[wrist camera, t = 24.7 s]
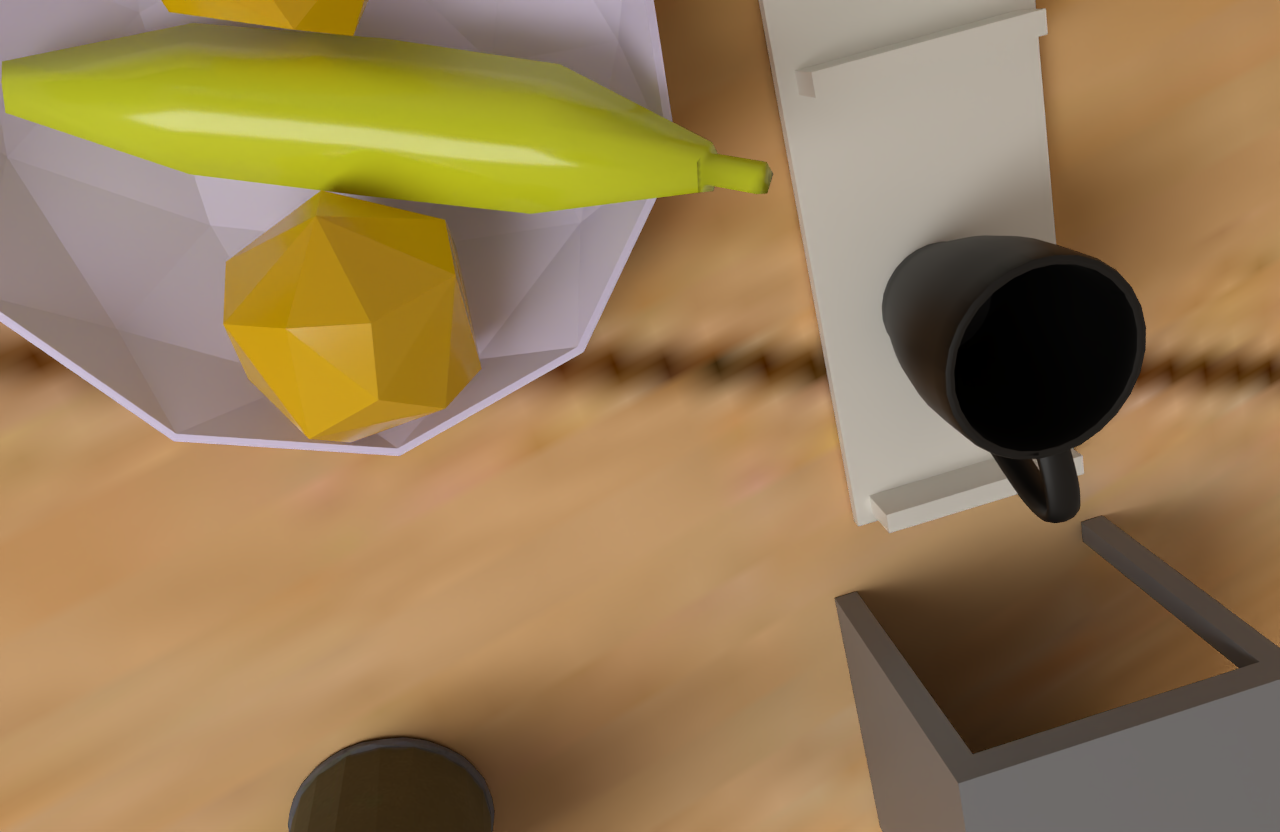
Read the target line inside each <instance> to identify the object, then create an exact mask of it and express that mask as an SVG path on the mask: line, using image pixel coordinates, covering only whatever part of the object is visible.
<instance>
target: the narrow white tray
mask: <svg viewBox="0 0 1280 832" xmlns="http://www.w3.org/2000/svg"><path fill="white" fill-rule="evenodd" d="M759 6H760V11H761V16H762V22H763V27H764V33H765V38H766V44H767V49H768V55H769V60H770V65H771V71H772V76H773V82H774V87H775V93H776V98H777V104H778V109H779V114H780V120H781V125H782V131H783V136H784V142H785V147H786V153H787V158H788V163H789V169H790V174H791V180H792V185H793V191H794V196H795V202H796V207H797V212H798V218H799V223H800V229H801V234H802V240H803V245H804V251H805V256H806V262H807V267H808V272H809V278H810V283H811V289H812V294H813V300H814V305H815V311H816V316H817V321H818V327H819V332H820V338H821V343H822V349H823V354H824V360H825V365H826V370H827V376H828V381H829V387H830V392H831V398H832V403H833V409H834V414H835V419H836V425H837V430H838V436H839V441H840V447H841V452H842V458H843V463H844V468H845V474H846V479H847V485H848V490H849V496H850V501H851V507H852V512H853V517H854V522H855V523H856V524H857V525H858V526H862V525H865V524H868V523H871V522H875V521H879V522H880V523H881V524H882V525H883V526H884V528H885V529H886V530H887V531H888V532H889V533H892V532H895V531H898V530H902V529H905V528H908V527H911V526H915V525H918V524H921V523H924V522H928V521H931V520H934V519H938V518H941V517H944V516H947V515H951V514H954V513H957V512H960V511H964V510H967V509H970V508H974V507H977V506H980V505H983V504H987V503H990V502H993V501H996V500H1000V499H1003V498H1006V497H1010V496H1013V495H1016V494H1018V493H1017V492H1016V491H1015V489H1014V488H1013V486H1012V485H1011V484H1010V482H1009V481H1008V479H1007V478H1006V476H1005V475H1004V473H1003V472H1002V470H1001V468H1000V467H999V465H998V464H997V462H996V461H995V459H994V458H993V456H992V454H991V453H990V452H988V451H986V450H984V449H982V448H980V447H978V446H976V445H975V444H974V443H972V442H971V441H970V440H968V439H967V438H966V437H965V436H963V435H962V434H961V433H960V432H958V431H957V430H956V429H955V428H953V427H952V426H951V425H950V424H949V423H947V422H946V421H945V420H944V419H943V418H941V417H940V416H939V415H938V414H937V413H936V412H935V411H934V410H933V409H932V408H930V407H929V406H928V405H927V403H926V402H925V401H924V400H923V399H922V397H921V396H920V395H919V394H918V392H917V391H916V389H915V388H914V386H913V385H912V383H911V381H910V380H909V378H908V377H907V375H906V374H905V372H904V371H903V369H902V367H901V365H900V363H899V361H898V359H897V357H896V354H895V352H894V349H893V346H892V343H891V340H890V337H889V335H888V333H887V332H886V329H885V326H884V323H883V317H882V301H883V294H884V291H885V288H886V285H887V283H888V280H889V279H890V277H891V275H892V274H893V272H894V270H895V269H896V268H897V267H898V265H899V264H900V263H901V262H902V261H903V260H904V259H905V258H906V257H907V256H909V255H910V254H912V253H913V252H914V251H916V250H917V249H920V248H922V247H924V246H926V245H928V244H932V243H937V242H942V241H945V242H947V241H952V240H956V239H961V238H966V237H972V236H983V235H990V236H1021V237H1028V238H1035V239H1038V240H1042V241H1045V242H1049V243H1052V244H1056V236H1055V224H1054V213H1053V201H1052V189H1051V178H1050V166H1049V155H1048V143H1047V131H1046V120H1045V108H1044V96H1043V85H1042V73H1041V61H1040V50H1039V38H1038V37H1039V36H1043V35H1047V34H1048V30H1047V18H1046V9H1036V3H1035V0H759ZM1071 452H1072V456H1073V460H1074V463H1075V468H1076V472H1077V476H1078V475H1082V474H1084V467H1083V455H1081V454H1080V453H1078V452H1077V451H1075V450H1074V448H1072V449H1071ZM1032 460H1033V461H1034V463H1035V464H1036V466H1037V467H1038V469H1039V466H1038V463H1037V460H1036V459H1032Z"/></svg>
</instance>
